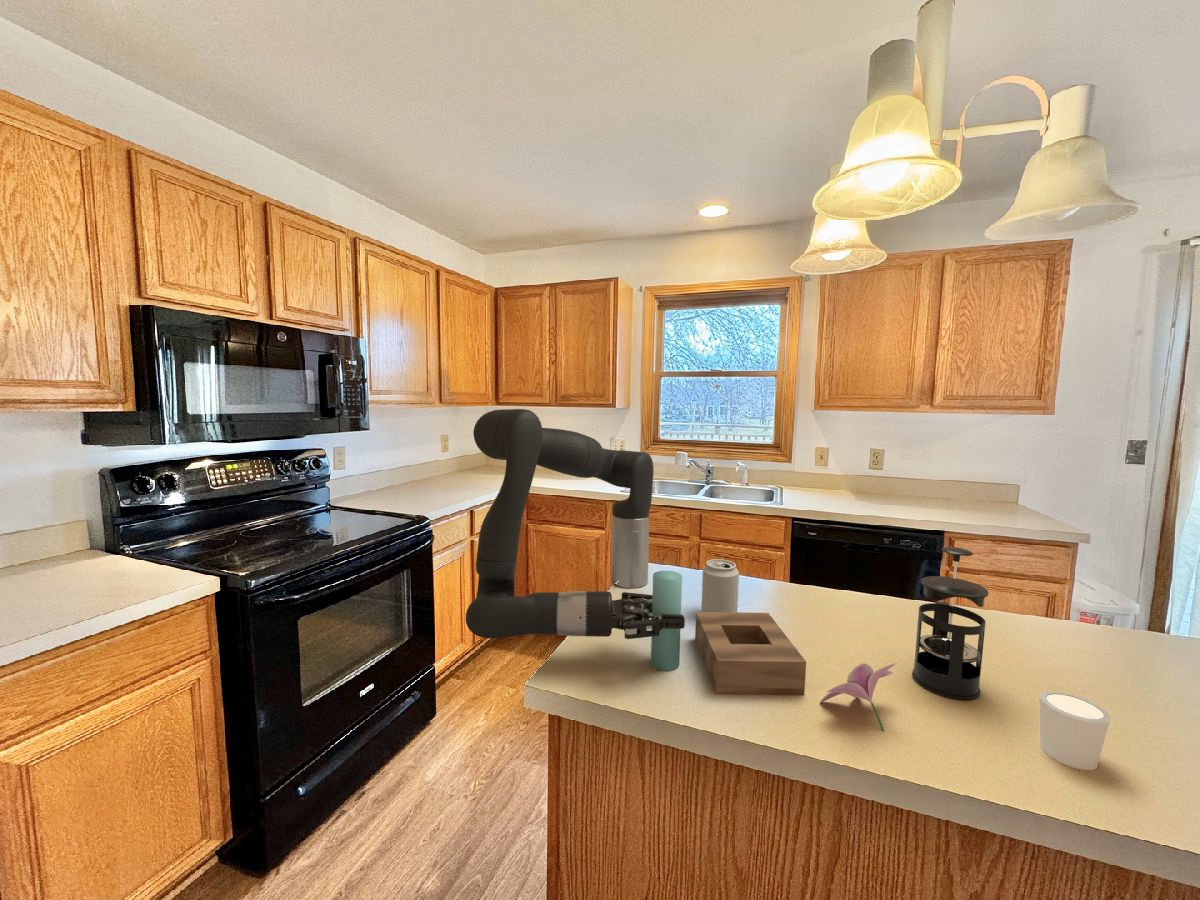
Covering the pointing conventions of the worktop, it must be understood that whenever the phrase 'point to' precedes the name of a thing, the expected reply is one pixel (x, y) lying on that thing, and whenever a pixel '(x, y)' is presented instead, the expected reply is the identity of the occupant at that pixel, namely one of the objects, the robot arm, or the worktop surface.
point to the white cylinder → (1072, 729)
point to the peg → (667, 602)
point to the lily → (861, 684)
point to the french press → (950, 637)
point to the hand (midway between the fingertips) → (681, 614)
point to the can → (720, 586)
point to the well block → (748, 654)
